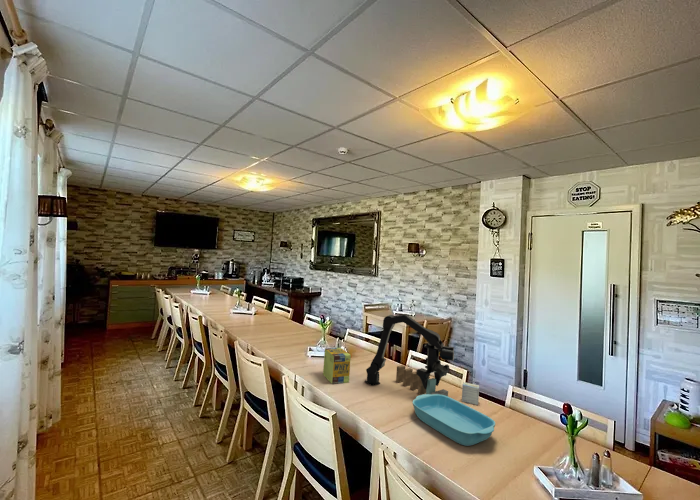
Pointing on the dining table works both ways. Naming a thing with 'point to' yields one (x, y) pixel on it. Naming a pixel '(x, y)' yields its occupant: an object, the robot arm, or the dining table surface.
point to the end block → (441, 392)
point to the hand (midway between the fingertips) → (431, 387)
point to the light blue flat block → (431, 386)
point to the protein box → (336, 365)
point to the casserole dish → (453, 419)
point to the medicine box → (470, 393)
